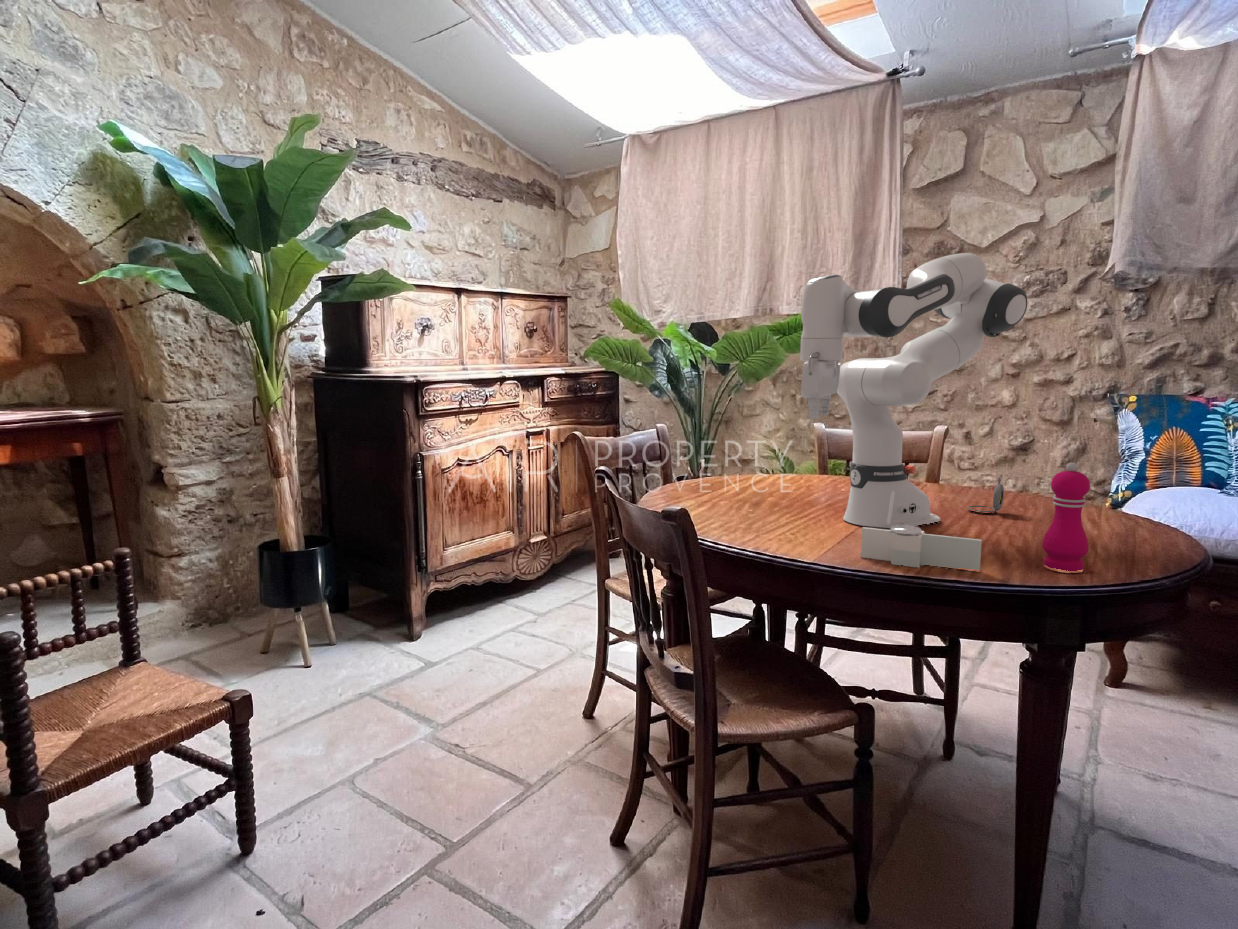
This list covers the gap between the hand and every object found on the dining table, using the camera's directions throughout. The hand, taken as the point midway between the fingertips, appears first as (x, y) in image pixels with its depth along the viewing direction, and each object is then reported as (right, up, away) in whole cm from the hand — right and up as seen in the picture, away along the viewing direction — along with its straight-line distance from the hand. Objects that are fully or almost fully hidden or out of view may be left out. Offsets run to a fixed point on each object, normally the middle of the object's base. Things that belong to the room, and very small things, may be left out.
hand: (819, 416), depth 152 cm
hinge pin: (+11, -29, -17) cm, 36 cm away
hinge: (+14, -29, -19) cm, 37 cm away
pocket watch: (+49, -23, +24) cm, 59 cm away
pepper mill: (+39, -30, -23) cm, 54 cm away
